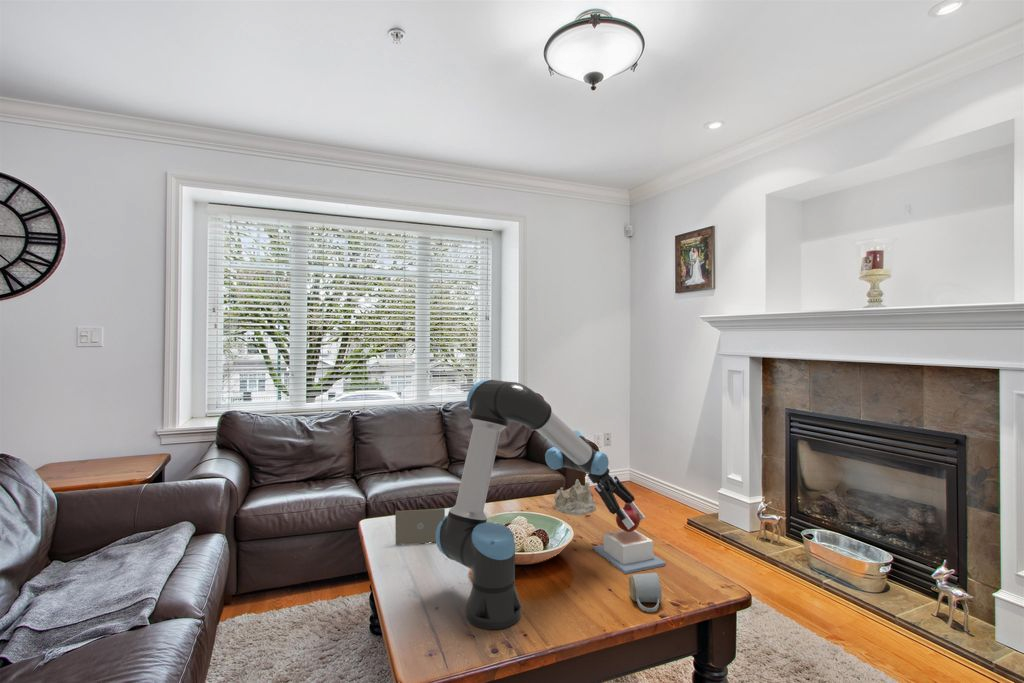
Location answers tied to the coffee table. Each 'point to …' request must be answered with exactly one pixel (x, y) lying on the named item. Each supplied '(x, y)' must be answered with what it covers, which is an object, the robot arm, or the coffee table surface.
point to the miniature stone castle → (575, 500)
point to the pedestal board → (632, 565)
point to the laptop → (417, 525)
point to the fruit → (631, 514)
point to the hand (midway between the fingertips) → (636, 523)
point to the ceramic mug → (645, 589)
